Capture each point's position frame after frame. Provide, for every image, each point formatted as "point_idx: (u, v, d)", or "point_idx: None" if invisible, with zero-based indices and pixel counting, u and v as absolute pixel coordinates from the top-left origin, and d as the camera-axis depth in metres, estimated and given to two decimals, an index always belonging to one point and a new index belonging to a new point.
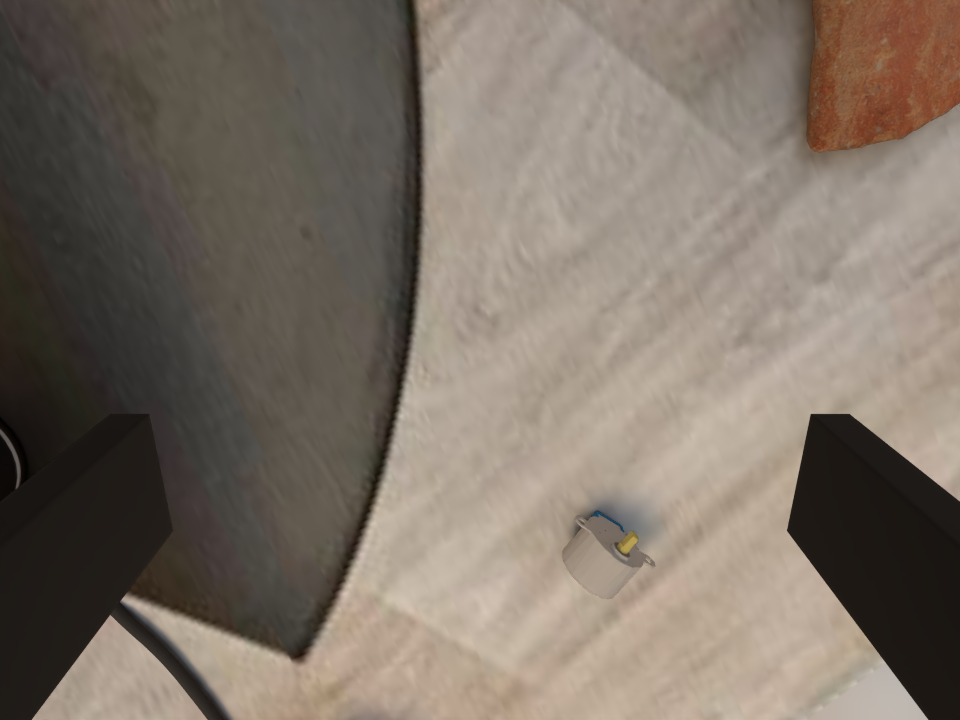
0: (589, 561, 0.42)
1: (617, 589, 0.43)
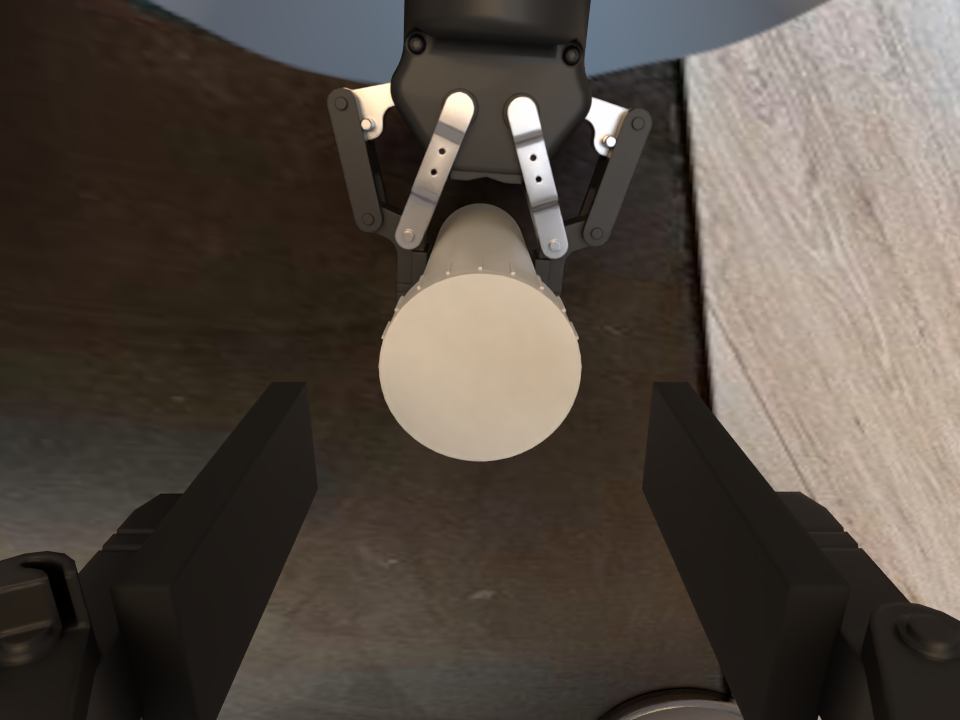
0: None
1: None
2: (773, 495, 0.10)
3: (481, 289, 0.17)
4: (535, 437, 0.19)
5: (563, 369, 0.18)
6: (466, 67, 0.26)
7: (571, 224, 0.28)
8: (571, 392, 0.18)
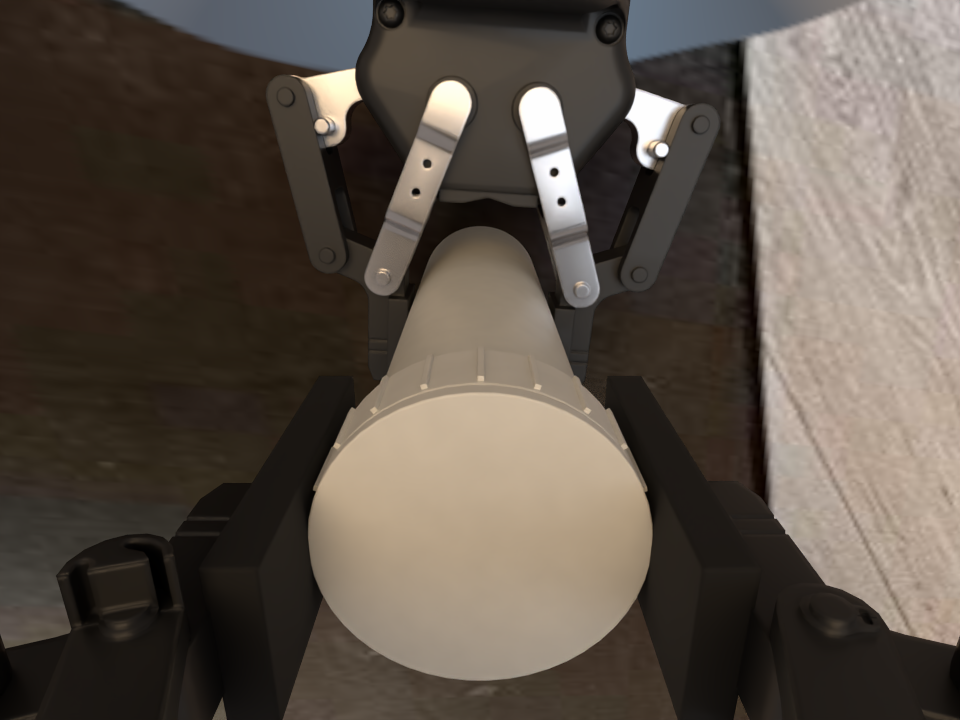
0: None
1: None
2: (703, 483, 0.10)
3: (482, 419, 0.10)
4: (572, 646, 0.11)
5: (622, 545, 0.10)
6: (460, 45, 0.18)
7: (603, 261, 0.21)
8: (635, 580, 0.11)
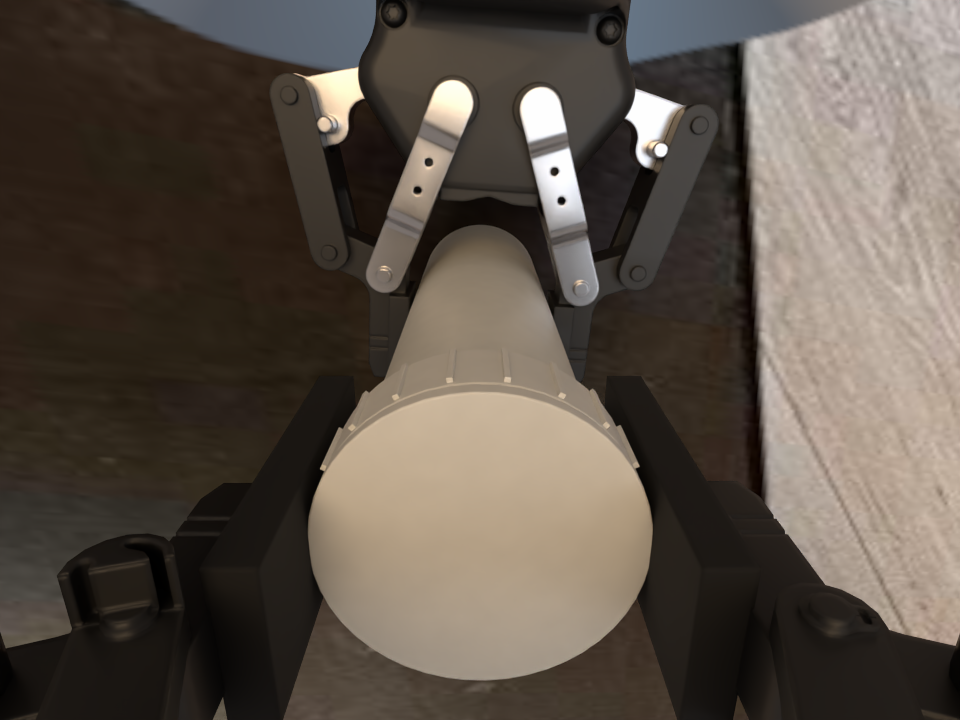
0: None
1: None
2: (703, 483, 0.10)
3: (334, 531, 0.10)
4: (623, 481, 0.10)
5: (495, 423, 0.10)
6: (462, 45, 0.18)
7: (603, 260, 0.21)
8: (544, 414, 0.10)
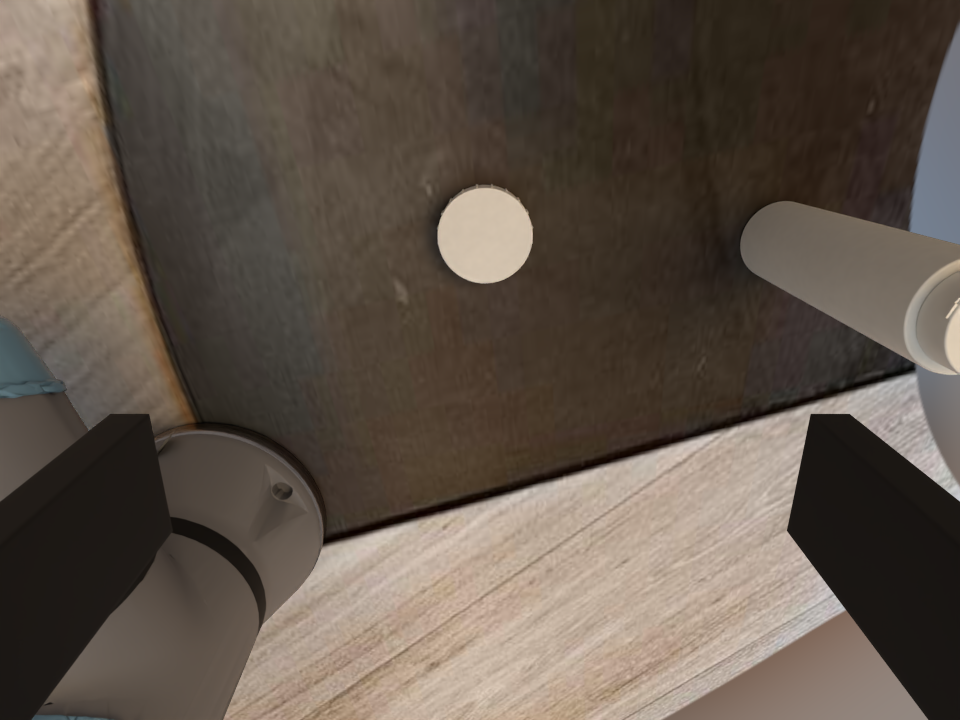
0: None
1: None
2: None
3: (445, 230, 0.38)
4: (523, 214, 0.38)
5: (489, 196, 0.37)
6: None
7: None
8: (501, 194, 0.37)
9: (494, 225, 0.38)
